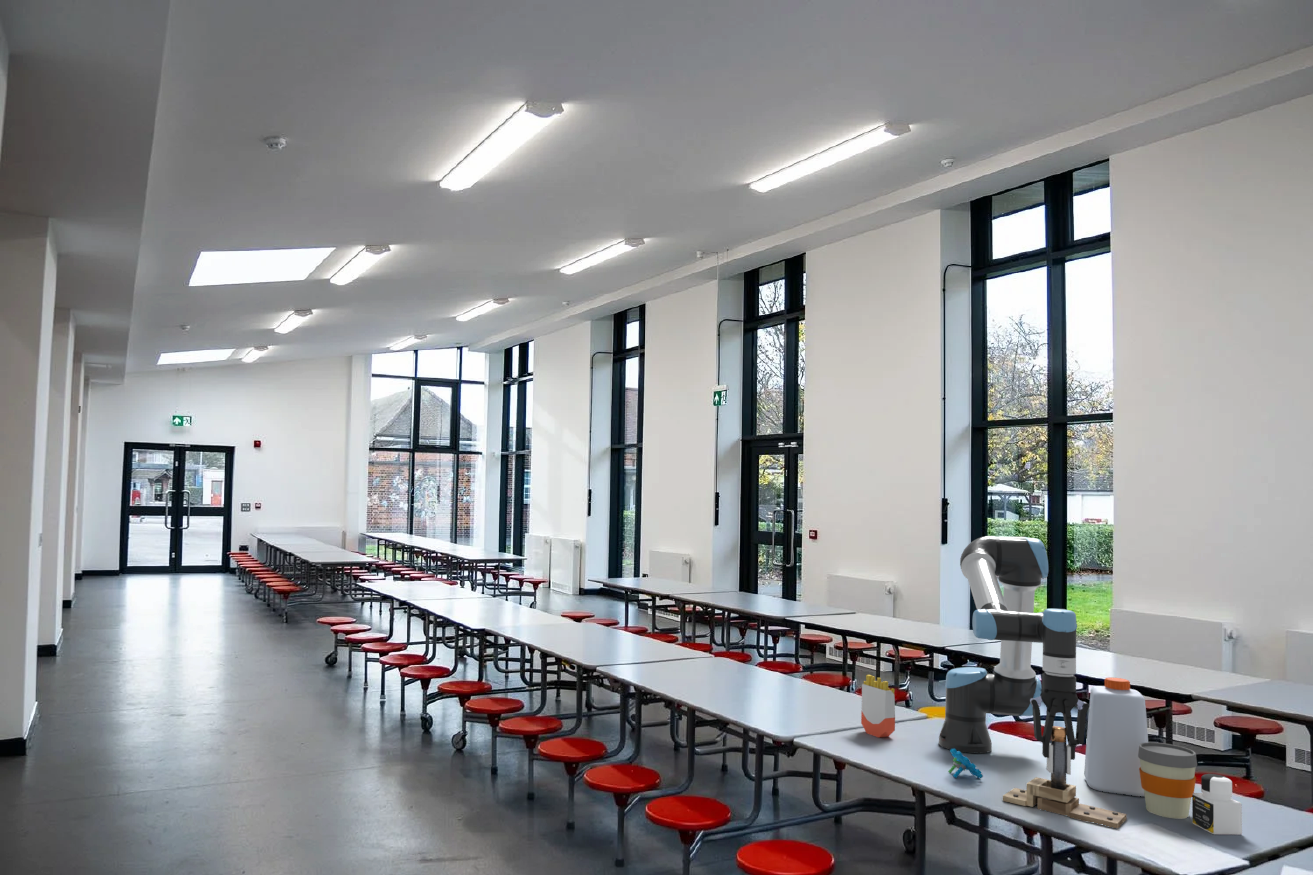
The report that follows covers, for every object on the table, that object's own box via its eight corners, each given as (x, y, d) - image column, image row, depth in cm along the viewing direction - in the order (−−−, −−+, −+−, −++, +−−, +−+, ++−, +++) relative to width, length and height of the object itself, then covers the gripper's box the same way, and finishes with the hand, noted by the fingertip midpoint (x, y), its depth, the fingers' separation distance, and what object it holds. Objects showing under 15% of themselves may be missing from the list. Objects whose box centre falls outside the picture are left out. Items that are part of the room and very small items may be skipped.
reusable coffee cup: (1196, 825, 209) (1196, 759, 210) (1135, 813, 216) (1135, 749, 217) (1197, 810, 220) (1197, 748, 221) (1139, 800, 226) (1139, 739, 228)
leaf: (1014, 792, 228) (1015, 771, 228) (1076, 806, 218) (1076, 784, 219) (1002, 800, 221) (1002, 778, 221) (1066, 815, 211) (1066, 793, 212)
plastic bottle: (1088, 791, 232) (1088, 681, 234) (1082, 775, 246) (1083, 671, 248) (1154, 799, 227) (1154, 687, 229) (1144, 783, 241) (1144, 677, 243)
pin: (1053, 792, 219) (1053, 725, 221) (1067, 795, 217) (1068, 728, 218) (1048, 795, 217) (1049, 727, 218) (1063, 798, 215) (1064, 730, 216)
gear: (990, 777, 235) (963, 748, 236) (975, 794, 234) (948, 765, 235) (972, 771, 246) (946, 743, 247) (958, 787, 245) (932, 759, 246)
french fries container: (871, 729, 288) (873, 672, 290) (895, 738, 279) (896, 679, 280) (860, 731, 286) (862, 673, 287) (884, 739, 276) (885, 680, 278)
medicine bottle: (1191, 823, 210) (1191, 771, 211) (1220, 823, 211) (1220, 771, 212) (1213, 834, 203) (1212, 780, 204) (1242, 835, 204) (1242, 780, 205)
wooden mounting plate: (1047, 800, 223) (1047, 790, 223) (1126, 819, 211) (1126, 807, 211) (1036, 809, 216) (1036, 798, 216) (1117, 828, 204) (1117, 817, 205)
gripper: (1027, 673, 217) (1026, 773, 215) (1100, 678, 214) (1099, 779, 212) (1020, 668, 224) (1019, 764, 222) (1090, 673, 221) (1089, 770, 220)
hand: (1058, 771), depth 217 cm, fingers closed on pin, 3 cm apart
